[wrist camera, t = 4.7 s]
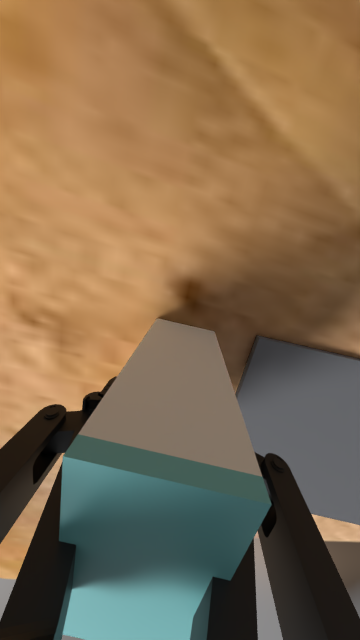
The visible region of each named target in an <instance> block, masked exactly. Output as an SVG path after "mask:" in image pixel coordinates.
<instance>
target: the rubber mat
mask: <svg viewBox="0 0 360 640" xmlns="http://www.w3.org/2000/svg"><path fill="white" fill-rule="evenodd" d="M235 395H236V398H237V401H238V404H239V407H240V410H241V413H242V416H243V419H244V422H245V425H246V428H247V431H248V434H249V438H250V441H251V444H252V447H253V450H254V452H256V453H257V454H259V455H261V456H263V457H265V455H266V454H268V453H273V454H276V455H278V456H279V457H281V458H282V459H283V460H284V461H285V462H286V463H287V464H288V466H289V468H290V470H291V472H292V474H293V476H294V478H295V480H296V482H297V485H298V487H299V489H300V491H301V493H302V495H303V498H304V500H305V502H306V504H307V506H308V508H309V510H310V513H311V514H314V515H319V516H323V517H327V518H332V519H336V520H340V521H345V522H349V523H353V524H358V525H360V359H358V358H354V357H349V356H345V355H341V354H336V353H332V352H328V351H323V350H319V349H315V348H310V347H306V346H301V345H297V344H293V343H288V342H284V341H280V340H275V339H271V338H267V337H262V336H258V335H257V337H256V339H255V342H254V345H253V348H252V350H251V353H250V356H249V359H248V361H247V364H246V367H245V370H244V372H243V375H242V378H241V381H240V383H239V386H238V389H237V392H236V394H235Z"/></svg>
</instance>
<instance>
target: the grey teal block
mask: <svg viewBox="0 0 360 640" xmlns="http://www.w3.org/2000/svg"><path fill="white" fill-rule="evenodd" d="M271 505H272V504H271V501H270V498H269V495H268V492H267V489H266V486H265V483H264V480H263V477H262V474H261V471H260V468H259V465H258V462H257V459H256V456H255V453H254V450H253V447H252V444H251V441H250V438H249V434H248V431H247V428H246V425H245V422H244V419H243V416H242V413H241V410H240V407H239V404H238V401H237V398H236V395H235V392H234V389H233V386H232V383H231V380H230V377H229V374H228V371H227V368H226V365H225V362H224V359H223V355H222V352H221V349H220V346H219V343H218V340H217V337H216V334H215V331H211V330H206V329H202V328H197V327H193V326H189V325H184V324H180V323H176V322H171V321H167V320H163V319H158V318H157V319H156V321H155V322H154V324H153V325H152V326H151V328H150V329H149V331H148V332H147V334H146V335H145V337H144V338H143V340H142V341H141V343H140V344H139V346H138V347H137V348H136V350H135V351H134V353H133V354H132V356H131V357H130V359H129V360H128V362H127V363H126V365H125V366H124V367H123V369H122V370H121V372H120V373H119V375H118V376H117V378H116V379H115V381H114V382H113V384H112V385H111V387H110V388H109V389H108V391H107V392H106V394H105V395H104V397H103V398H102V400H101V401H100V403H99V404H98V406H97V407H96V409H95V410H94V411H93V413H92V414H91V416H90V417H89V419H88V420H87V422H86V423H85V425H84V426H83V428H82V429H81V431H80V432H79V433H78V435H77V436H76V438H75V439H74V441H73V442H72V444H71V445H70V447H69V448H68V450H67V451H66V452H65V454H64V455H63V466H62V486H61V507H60V528H59V541H62V542H66V543H70V544H75V545H76V553H75V564H74V575H73V585H72V592H71V597H70V602H69V606H68V611H67V616H66V620H65V625H64V630H63V634H64V635H68V636H72V637H77V638H81V639H86V640H190V635H191V628H192V621H193V616H194V614H195V612H196V610H197V608H198V606H199V604H200V602H201V600H202V598H203V596H204V594H205V592H206V590H207V587H208V585H209V583H210V581H211V579H212V577H217V578H222V579H226V580H231V579H232V577H233V575H234V573H235V571H236V569H237V567H238V566H239V564H240V562H241V560H242V558H243V556H244V555H245V553H246V551H247V549H248V547H249V545H250V543H251V542H252V540H253V538H254V536H255V534H256V532H257V531H258V529H259V527H260V525H261V523H262V521H263V519H264V518H265V516H266V514H267V512H268V510H269V508H270V507H271Z"/></svg>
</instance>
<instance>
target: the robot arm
mask: <svg viewBox="0 0 360 640" xmlns="http://www.w3.org/2000/svg"><path fill="white" fill-rule="evenodd" d="M116 378H117V377H114V378H112V379H111V380H109V382H108V383H107V384H106V386H105V387H104V388H103V390H102V391H101V392H93V393H89V394H88V395H86V396H85V397H84V399H83V407H82V410H81V411H71V412H66V408H65V407H64V406H62V405H57V404H55V405H49V406H47V407H45V408H43V409H42V410H40V411H39V412H38V413H37V414H36V415H35V416H34V417H33V418H32V419H31V420H30V421H29V422H28V423H27V424H26V425H25V426H24V427H23V428H22V429H21V430H20V431H19V432H18V433H16V434H15V435H14V436H13V437H12V438H11V439H10V440H9V441H8V442H7V443H6V444H5V445H4V446H3V447H2V448H1V449H0V543H1V542H2V540H3V539H4V538H5V536H6V535H7V533H8V532H9V530H10V529H11V527H12V526H13V524H14V523H15V521H16V520H17V518H18V517H19V516H20V514H21V513H22V511H23V510H24V508H25V507H26V505H27V504H28V502H29V501H30V499H31V498H32V496H33V495H34V494H35V492H36V491H37V489H38V488H39V486H40V485H41V483H42V482H43V480H44V479H45V477H46V476H47V474H48V473H49V472H50V470H51V469H52V467H53V466H54V464H55V463H56V461H57V460H58V458H59V457H60V455H61V454H62V453H65V452H66V451H67V450H68V448H69V447H70V445H71V444H72V442H73V441H74V439H75V438H76V436H77V435H78V433H79V432H80V431H81V429H82V428H83V426H84V425H85V423H86V422H87V420H88V419H89V417H90V416H91V414H92V413H93V411H94V410H95V409H96V407H97V406H98V404H99V403H100V401H101V400H102V398H103V397H104V395H105V394H106V392H107V391H108V389H109V388H110V387H111V385H112V384H113V382H114V381H115V379H116ZM254 453H255V456H256V459H257V462H258V465H259V468H260V471H261V474H262V477H263V480H264V483H265V486H266V489H267V492H268V495H269V498H270V501H271V504H272V505H271V507H270V508H269V510H268V512H267V514H266V516H265V518H264V519H263V521H262V523H261V525H260V527H259V529H258V534H259V538H260V542H261V546H262V551H263V555H264V559H265V564H266V568H267V573H268V577H269V581H270V585H271V590H272V594H273V598H274V602H275V607H276V611H277V615H278V620H279V624H280V628H281V632H282V637H283V640H360V618H359V616H358V614H357V611H356V609H355V607H354V605H353V603H352V601H351V599H350V596H349V594H348V592H347V590H346V588H345V586H344V583H343V582H342V579H341V577H340V575H339V573H338V571H337V568H336V566H335V564H334V562H333V560H332V558H331V555H330V554H329V551H328V549H327V547H326V545H325V543H324V540H323V538H322V536H321V534H320V532H319V530H318V528H317V525H316V523H315V521H314V519H313V517H312V515H311V513H310V510H309V508H308V506H307V504H306V502H305V500H304V498H303V495H302V493H301V491H300V489H299V487H298V485H297V482H296V480H295V478H294V476H293V474H292V472H291V470H290V468H289V466H288V464H287V463H286V462H285V461H284V460H283V459H282V458H281V457H279V456H278V455H276V454H273V453H268V454H266V455H265V457H263V456H261V455H259V454H257V453H256V452H254ZM62 466H63V462H62V464H61V467H60V469H59V472H58V474H57V477H56V480H55V482H54V485H53V487H52V490H51V492H50V495H49V498H48V500H47V503H46V505H45V508H44V510H43V513H42V515H41V518H40V521H39V523H38V526H37V528H36V531H35V533H34V536H33V539H32V541H31V544H30V546H29V549H28V551H27V554H26V556H25V559H24V562H23V564H22V567H21V569H20V572H19V574H18V577H17V580H16V583H15V585H14V587H13V590H12V592H11V595H10V597H9V600H8V603H7V605H6V608H5V611H4V613H3V616H2V618H1V621H0V640H61V639H62V634H63V630H64V625H65V620H66V616H67V611H68V606H69V602H70V597H71V592H72V585H73V575H74V564H75V553H76V545H75V544H70V543H66V542H62V541H59V528H60V507H61V486H62ZM190 640H258V634H257V610H256V587H255V562H254V538H253V540H252V542H251V543H250V545H249V547H248V549H247V551H246V553H245V555H244V556H243V558H242V560H241V562H240V564H239V566H238V567H237V569H236V571H235V573H234V575H233V577H232V579H231V580H226V579H222V578H217V577H212V579H211V581H210V583H209V585H208V587H207V590H206V592H205V594H204V596H203V598H202V600H201V602H200V604H199V606H198V608H197V610H196V612H195V614H194V616H193V621H192V628H191V635H190Z"/></svg>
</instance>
